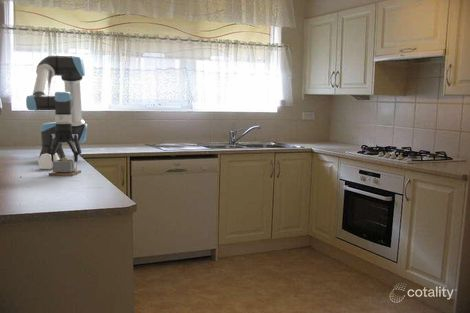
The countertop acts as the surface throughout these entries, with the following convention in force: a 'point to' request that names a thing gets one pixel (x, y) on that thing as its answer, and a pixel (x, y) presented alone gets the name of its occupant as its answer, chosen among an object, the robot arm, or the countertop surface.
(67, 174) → the keeper
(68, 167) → the grey hollow block
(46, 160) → the jar
